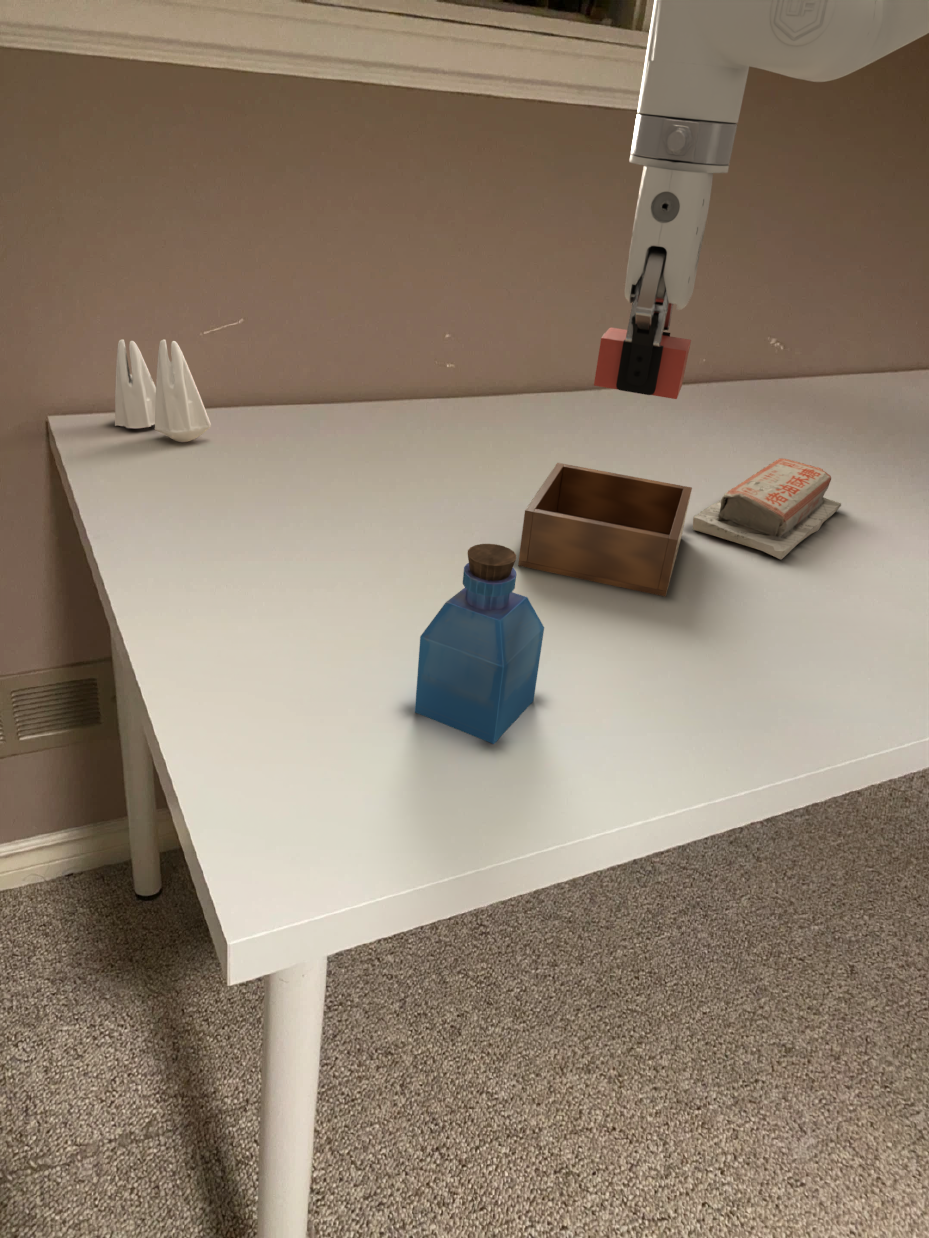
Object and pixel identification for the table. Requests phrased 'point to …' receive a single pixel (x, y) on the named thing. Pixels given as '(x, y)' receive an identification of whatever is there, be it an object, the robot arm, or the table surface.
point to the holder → (605, 528)
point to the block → (668, 371)
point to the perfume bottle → (481, 650)
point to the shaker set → (158, 394)
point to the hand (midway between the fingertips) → (639, 381)
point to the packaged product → (771, 508)
